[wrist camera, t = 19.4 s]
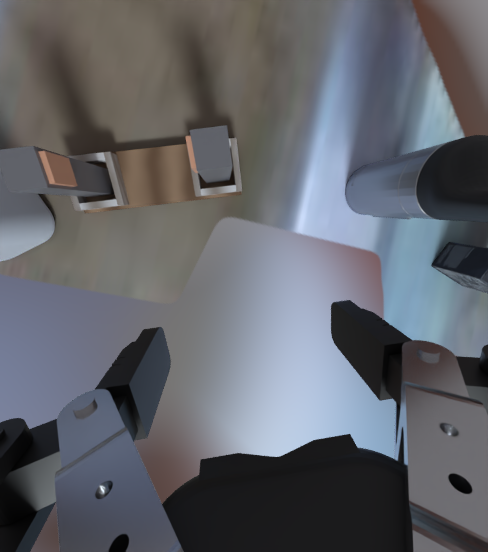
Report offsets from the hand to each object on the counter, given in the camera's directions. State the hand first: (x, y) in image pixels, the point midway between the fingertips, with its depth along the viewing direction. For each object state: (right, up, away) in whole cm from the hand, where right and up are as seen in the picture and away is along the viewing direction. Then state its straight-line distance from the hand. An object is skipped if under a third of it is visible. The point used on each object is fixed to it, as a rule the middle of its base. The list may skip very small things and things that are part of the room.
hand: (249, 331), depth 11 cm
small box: (+47, +5, +41) cm, 63 cm away
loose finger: (-5, +21, +29) cm, 37 cm away
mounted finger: (-25, +19, +28) cm, 42 cm away
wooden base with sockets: (-15, +20, +30) cm, 40 cm away
